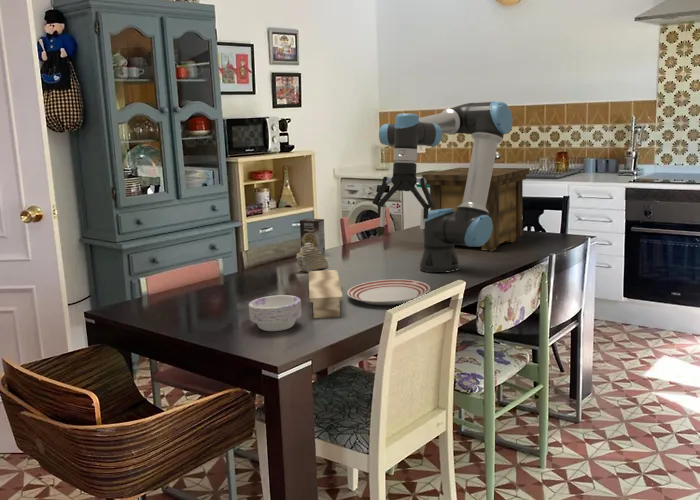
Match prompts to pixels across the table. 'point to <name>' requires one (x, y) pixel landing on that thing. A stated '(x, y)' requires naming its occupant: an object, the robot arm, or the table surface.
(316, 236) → the coffee box
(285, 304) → the paper bowls
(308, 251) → the fossil tooth
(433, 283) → the table surface
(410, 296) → the dinner plate
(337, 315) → the long wooden block
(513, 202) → the crate
